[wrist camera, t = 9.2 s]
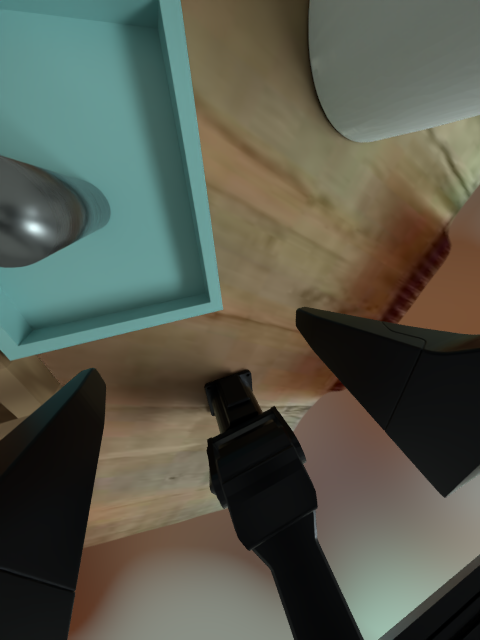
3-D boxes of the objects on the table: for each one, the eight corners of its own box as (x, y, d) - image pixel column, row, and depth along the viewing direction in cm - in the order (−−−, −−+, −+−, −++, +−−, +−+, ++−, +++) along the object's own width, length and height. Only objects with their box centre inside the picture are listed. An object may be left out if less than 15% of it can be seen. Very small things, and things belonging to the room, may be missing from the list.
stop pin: (117, 227, 15) (75, 259, 7) (70, 232, 14) (-42, 276, 6) (99, 177, 13) (16, 140, 5) (45, 180, 12) (-155, 141, 4)
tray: (214, 297, 21) (222, 309, 19) (30, 337, 17) (10, 360, 15) (170, 11, 12) (175, -39, 9) (-274, -53, 7) (-480, -174, 5)
